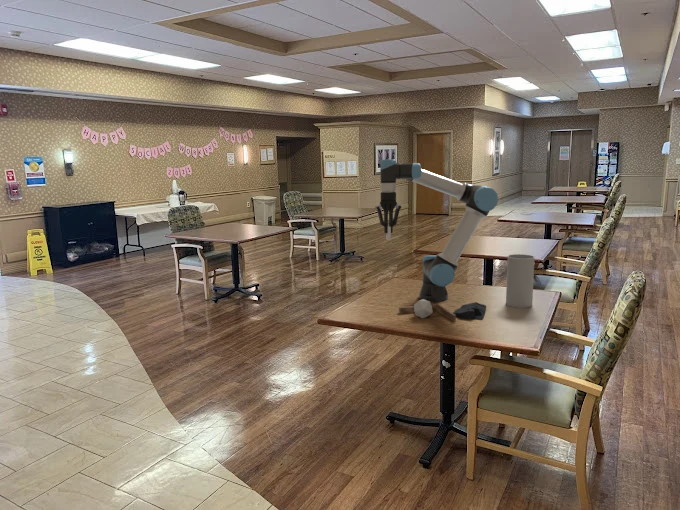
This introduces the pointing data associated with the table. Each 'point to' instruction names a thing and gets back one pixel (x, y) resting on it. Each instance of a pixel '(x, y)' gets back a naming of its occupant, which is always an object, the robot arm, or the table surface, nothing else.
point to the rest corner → (434, 307)
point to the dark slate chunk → (471, 311)
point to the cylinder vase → (520, 280)
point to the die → (423, 308)
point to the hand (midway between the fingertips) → (388, 239)
